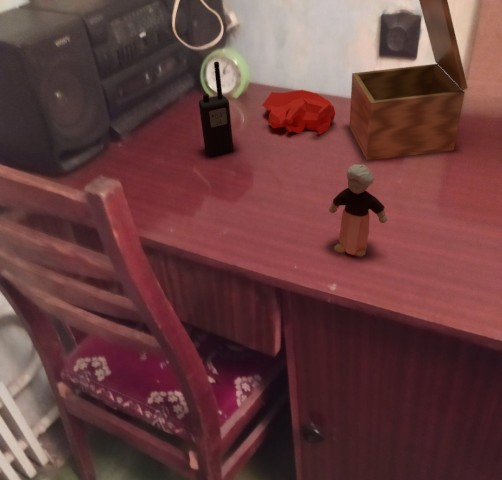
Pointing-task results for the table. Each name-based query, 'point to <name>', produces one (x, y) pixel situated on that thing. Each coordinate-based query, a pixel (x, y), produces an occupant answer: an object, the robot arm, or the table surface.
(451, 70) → the lid
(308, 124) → the crumpled red cloth
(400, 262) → the table surface
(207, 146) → the walkie-talkie
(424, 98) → the chest
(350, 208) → the grandmother figurine
